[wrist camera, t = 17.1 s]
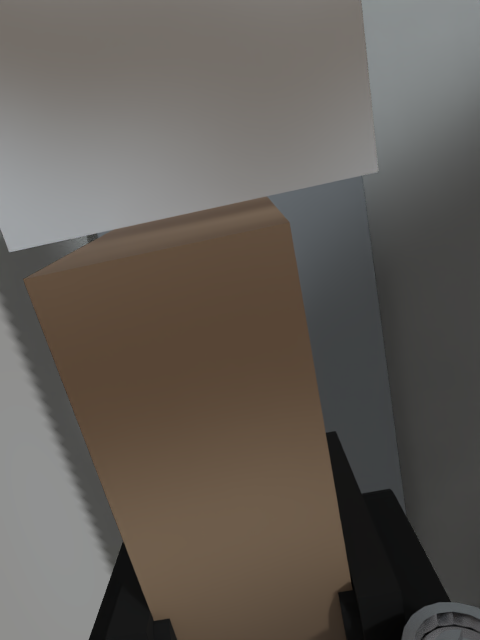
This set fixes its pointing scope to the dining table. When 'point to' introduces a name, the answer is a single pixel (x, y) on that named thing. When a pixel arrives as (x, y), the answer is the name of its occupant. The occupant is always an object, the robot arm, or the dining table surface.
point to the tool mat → (345, 325)
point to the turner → (191, 281)
